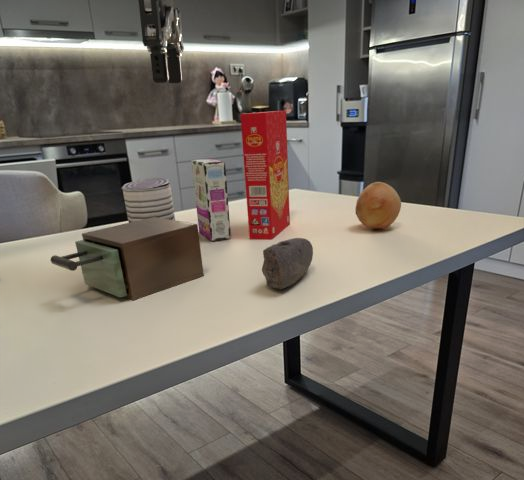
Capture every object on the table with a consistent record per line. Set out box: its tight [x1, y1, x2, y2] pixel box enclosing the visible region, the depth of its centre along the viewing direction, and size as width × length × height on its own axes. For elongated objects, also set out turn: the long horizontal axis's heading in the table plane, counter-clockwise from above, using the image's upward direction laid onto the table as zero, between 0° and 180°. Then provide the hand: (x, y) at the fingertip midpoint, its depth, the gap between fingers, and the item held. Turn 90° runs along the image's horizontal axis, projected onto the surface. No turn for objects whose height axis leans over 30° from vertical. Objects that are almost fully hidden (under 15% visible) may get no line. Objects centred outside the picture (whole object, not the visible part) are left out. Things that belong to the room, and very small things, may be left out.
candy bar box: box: [190, 158, 232, 242], centre depth 108 cm, size 11×5×16 cm, turn 22°
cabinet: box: [81, 217, 205, 301], centre depth 82 cm, size 15×13×9 cm
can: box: [121, 177, 176, 223], centre depth 116 cm, size 11×11×12 cm
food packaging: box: [239, 110, 291, 240], centre depth 107 cm, size 15×5×25 cm, turn 162°
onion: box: [355, 181, 402, 229], centre depth 106 cm, size 10×10×10 cm
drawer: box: [50, 239, 128, 298], centre depth 79 cm, size 19×11×7 cm, turn 136°
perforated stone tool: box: [261, 237, 314, 290], centre depth 78 cm, size 15×5×7 cm, turn 149°
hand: (168, 83), depth 75 cm, fingers open, 8 cm apart
